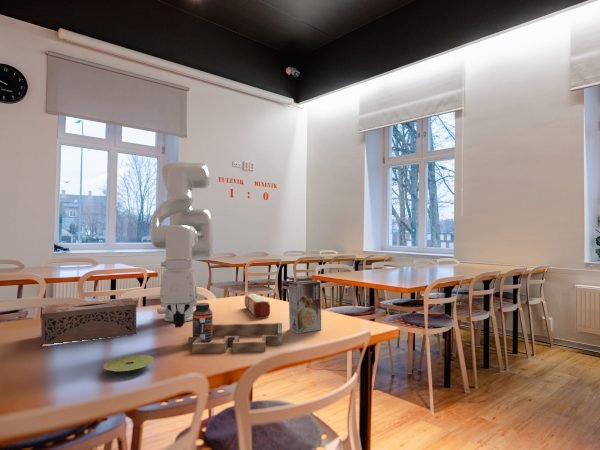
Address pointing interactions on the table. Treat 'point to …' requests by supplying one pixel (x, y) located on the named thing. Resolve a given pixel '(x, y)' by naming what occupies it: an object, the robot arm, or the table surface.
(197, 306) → the supplement bottle
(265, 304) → the snack package
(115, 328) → the tissue box cover
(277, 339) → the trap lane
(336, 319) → the table surface
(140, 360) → the green disc
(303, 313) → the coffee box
